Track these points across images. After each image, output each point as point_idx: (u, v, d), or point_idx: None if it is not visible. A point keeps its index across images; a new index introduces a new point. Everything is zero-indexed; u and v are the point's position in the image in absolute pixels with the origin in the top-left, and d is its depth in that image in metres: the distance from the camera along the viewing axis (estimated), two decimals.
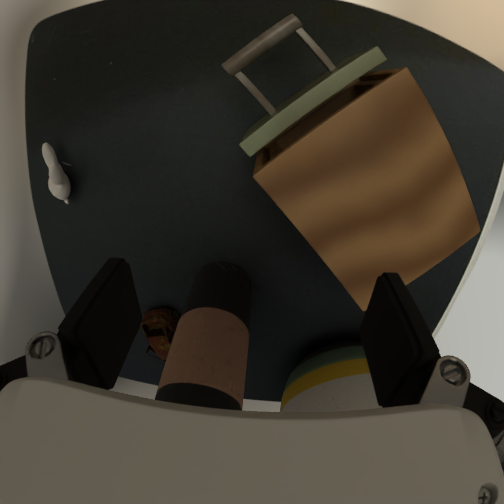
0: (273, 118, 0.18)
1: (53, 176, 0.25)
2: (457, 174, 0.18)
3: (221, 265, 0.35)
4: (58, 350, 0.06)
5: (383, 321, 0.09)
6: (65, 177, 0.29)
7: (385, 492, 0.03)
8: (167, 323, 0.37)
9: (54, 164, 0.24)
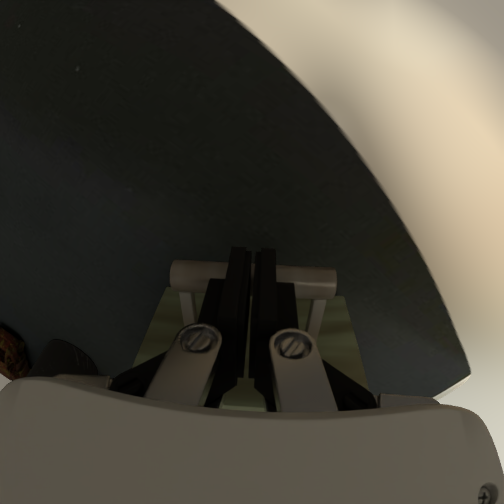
0: None
1: None
2: None
3: (76, 354, 0.26)
4: (213, 354, 0.07)
5: None
6: None
7: (385, 492, 0.03)
8: (10, 355, 0.25)
9: None
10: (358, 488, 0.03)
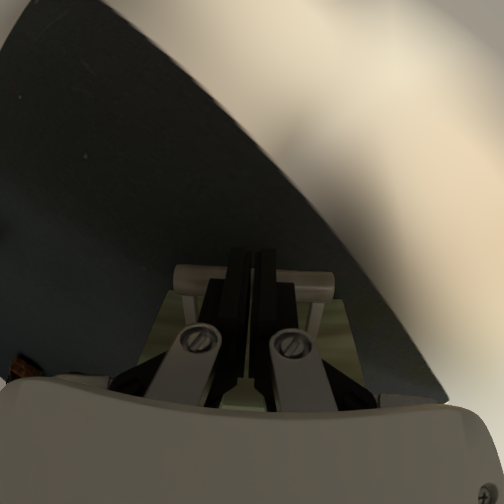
0: None
1: None
2: None
3: None
4: (213, 354, 0.07)
5: None
6: None
7: (385, 492, 0.03)
8: None
9: None
10: (358, 488, 0.03)
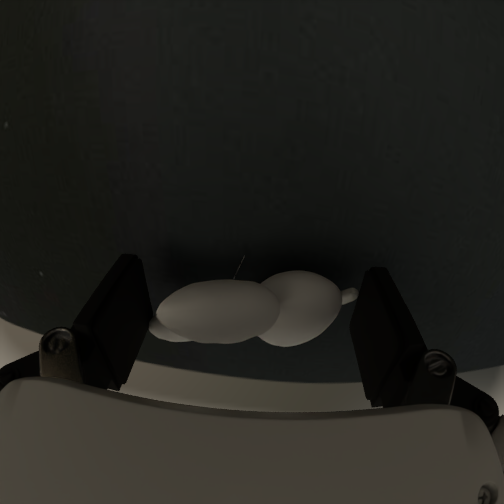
0: None
1: (226, 326, 0.07)
2: None
3: None
4: (73, 347, 0.06)
5: (370, 315, 0.09)
6: (269, 281, 0.10)
7: (385, 492, 0.03)
8: None
9: (161, 308, 0.06)
10: (358, 488, 0.03)
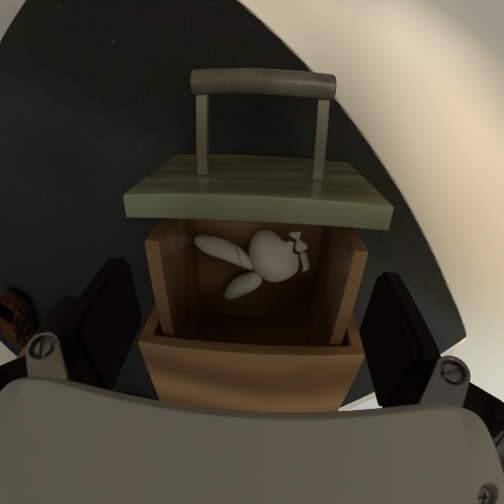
0: (183, 195, 0.12)
1: None
2: None
3: None
4: (58, 350, 0.06)
5: (383, 321, 0.09)
6: (259, 273, 0.20)
7: (385, 492, 0.03)
8: (20, 316, 0.28)
9: (225, 298, 0.24)
10: (358, 488, 0.03)
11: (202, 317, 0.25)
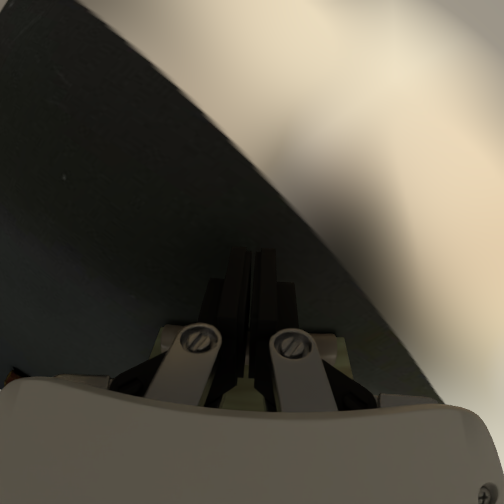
0: None
1: None
2: None
3: None
4: (213, 354, 0.07)
5: None
6: None
7: (385, 492, 0.03)
8: None
9: None
10: (358, 488, 0.03)
11: None
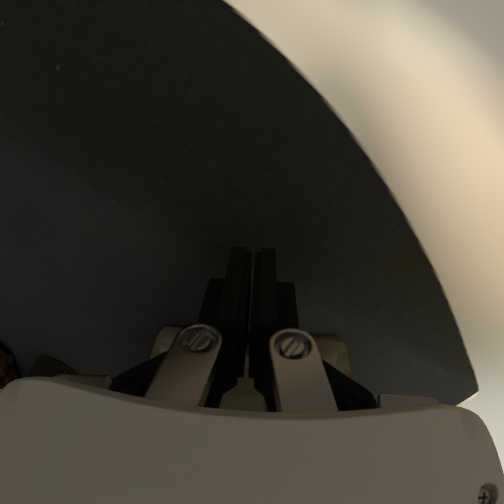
0: None
1: None
2: None
3: (66, 372, 0.23)
4: (213, 354, 0.07)
5: None
6: None
7: (385, 492, 0.03)
8: None
9: None
10: (358, 488, 0.03)
11: None
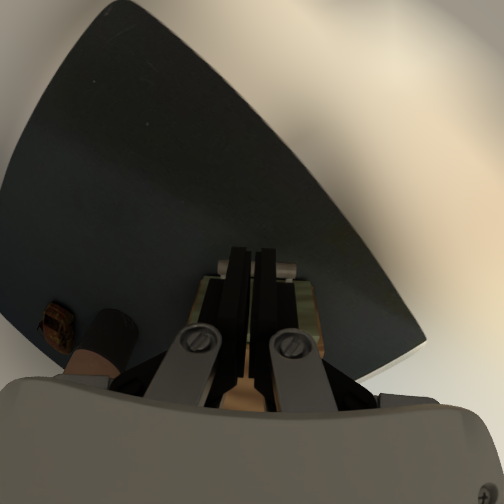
0: None
1: None
2: None
3: (125, 319, 0.39)
4: (213, 354, 0.07)
5: None
6: None
7: (385, 492, 0.03)
8: (64, 324, 0.38)
9: None
10: (358, 488, 0.03)
11: None
